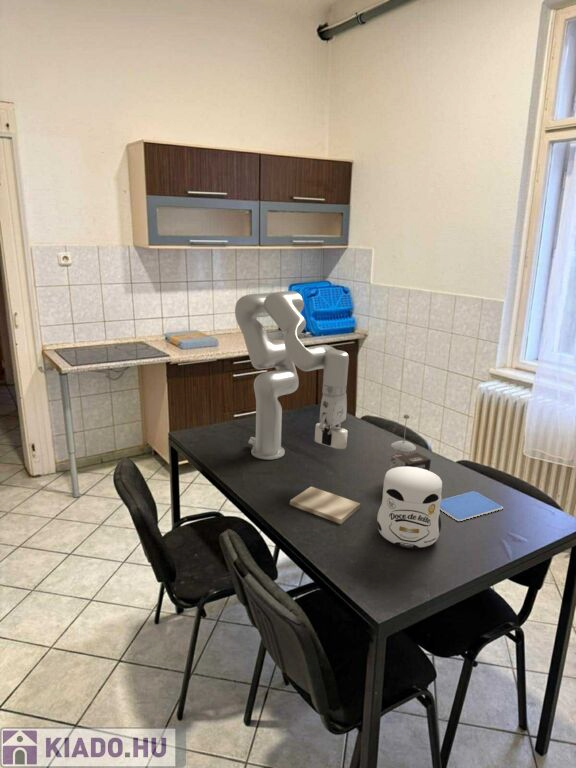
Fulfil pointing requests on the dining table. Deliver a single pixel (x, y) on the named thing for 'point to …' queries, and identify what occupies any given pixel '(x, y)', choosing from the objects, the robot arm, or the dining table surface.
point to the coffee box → (413, 461)
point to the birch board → (325, 504)
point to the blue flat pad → (468, 506)
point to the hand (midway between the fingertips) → (330, 441)
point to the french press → (401, 447)
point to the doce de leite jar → (410, 507)
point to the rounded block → (333, 436)
